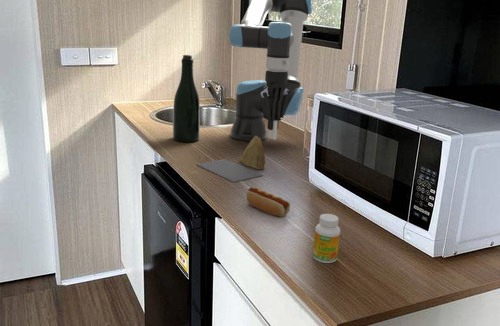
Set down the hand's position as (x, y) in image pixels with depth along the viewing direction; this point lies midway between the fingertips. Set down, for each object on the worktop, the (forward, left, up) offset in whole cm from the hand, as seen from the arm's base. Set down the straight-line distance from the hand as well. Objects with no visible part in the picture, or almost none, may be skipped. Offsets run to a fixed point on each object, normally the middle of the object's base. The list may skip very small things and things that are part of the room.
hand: (272, 138), depth 170 cm
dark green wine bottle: (+10, -39, -9) cm, 41 cm away
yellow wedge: (+9, 0, -9) cm, 12 cm away
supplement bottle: (+38, +58, -9) cm, 70 cm away
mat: (+19, 0, -8) cm, 20 cm away
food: (+30, +31, -9) cm, 44 cm away
